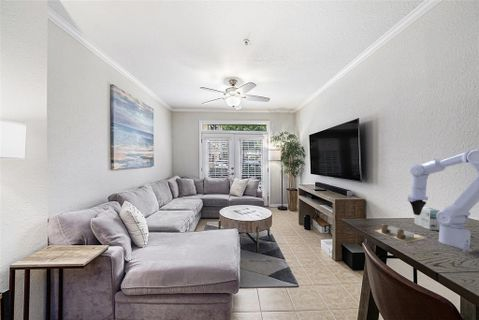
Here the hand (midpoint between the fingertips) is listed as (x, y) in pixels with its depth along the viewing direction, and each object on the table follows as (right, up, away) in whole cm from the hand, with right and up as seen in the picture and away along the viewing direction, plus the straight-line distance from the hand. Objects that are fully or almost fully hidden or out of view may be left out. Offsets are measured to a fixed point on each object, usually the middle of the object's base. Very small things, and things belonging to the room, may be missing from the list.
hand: (416, 214), depth 110 cm
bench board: (-13, -9, -6) cm, 17 cm away
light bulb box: (+15, -10, +11) cm, 22 cm away
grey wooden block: (-14, -8, -6) cm, 17 cm away
